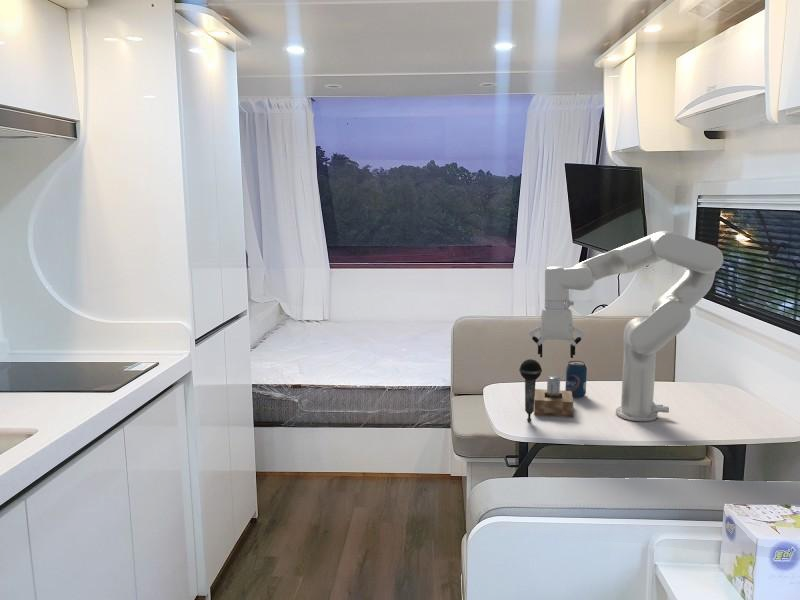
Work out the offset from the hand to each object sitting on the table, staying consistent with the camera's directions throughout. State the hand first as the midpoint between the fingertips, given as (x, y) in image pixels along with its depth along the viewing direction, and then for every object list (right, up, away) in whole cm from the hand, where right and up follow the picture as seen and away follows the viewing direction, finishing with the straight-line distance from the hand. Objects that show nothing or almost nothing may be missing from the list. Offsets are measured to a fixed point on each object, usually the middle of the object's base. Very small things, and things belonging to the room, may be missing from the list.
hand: (556, 356), depth 206 cm
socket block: (0, -18, +3) cm, 18 cm away
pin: (0, -17, +3) cm, 17 cm away
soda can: (+11, -16, +18) cm, 26 cm away
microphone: (-10, -20, -8) cm, 24 cm away
